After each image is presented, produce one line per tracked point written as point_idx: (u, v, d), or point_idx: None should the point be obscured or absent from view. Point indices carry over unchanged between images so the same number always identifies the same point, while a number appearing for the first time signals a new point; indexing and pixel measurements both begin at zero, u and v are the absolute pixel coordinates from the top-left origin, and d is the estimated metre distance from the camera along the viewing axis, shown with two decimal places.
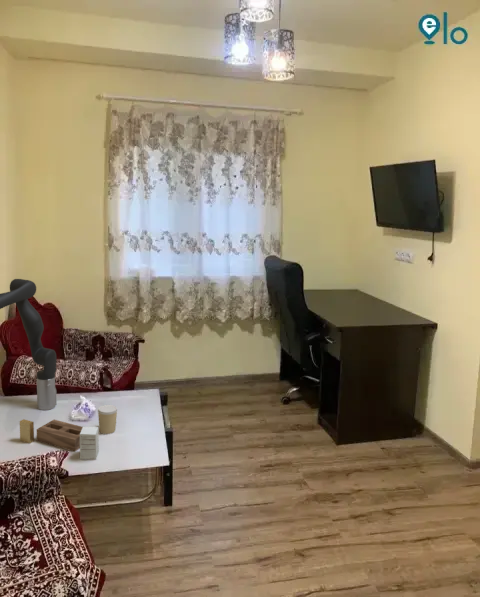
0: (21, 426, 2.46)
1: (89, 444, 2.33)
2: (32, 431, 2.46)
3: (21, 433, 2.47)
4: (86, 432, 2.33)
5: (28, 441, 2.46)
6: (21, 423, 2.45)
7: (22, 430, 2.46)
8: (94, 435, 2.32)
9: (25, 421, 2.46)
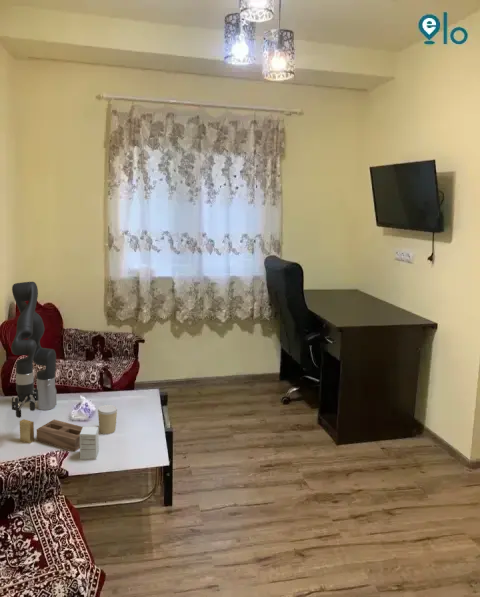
0: (21, 426, 2.46)
1: (89, 444, 2.33)
2: (32, 431, 2.46)
3: (21, 433, 2.47)
4: (86, 432, 2.33)
5: (28, 441, 2.46)
6: (21, 423, 2.45)
7: (22, 430, 2.46)
8: (94, 435, 2.32)
9: (25, 421, 2.46)
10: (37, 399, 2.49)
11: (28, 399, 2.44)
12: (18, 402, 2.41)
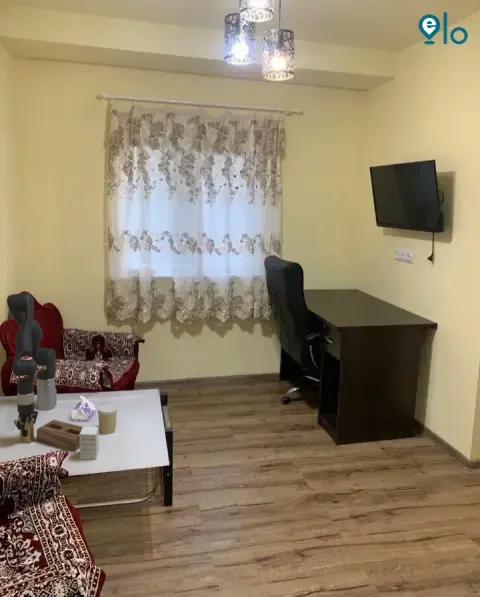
0: None
1: (89, 444, 2.33)
2: (32, 431, 2.46)
3: (21, 433, 2.46)
4: (86, 432, 2.33)
5: (28, 441, 2.46)
6: None
7: None
8: (94, 435, 2.32)
9: None
10: (34, 422, 2.49)
11: (28, 418, 2.45)
12: (21, 422, 2.44)
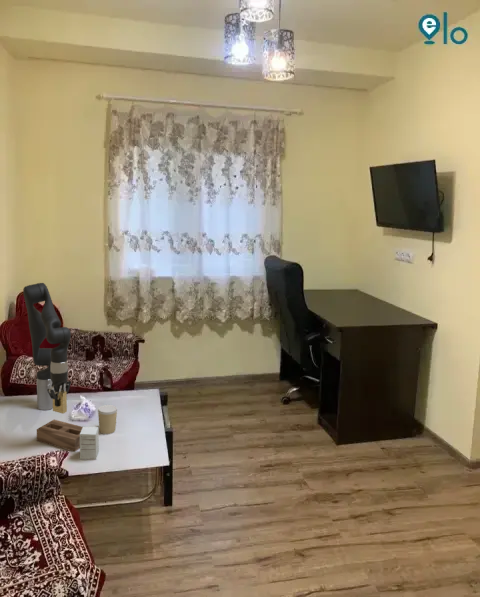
0: None
1: (89, 444, 2.33)
2: (65, 401, 2.42)
3: (54, 403, 2.43)
4: (86, 432, 2.33)
5: (61, 411, 2.42)
6: None
7: None
8: (94, 435, 2.32)
9: None
10: (67, 392, 2.45)
11: (61, 388, 2.41)
12: (55, 391, 2.41)
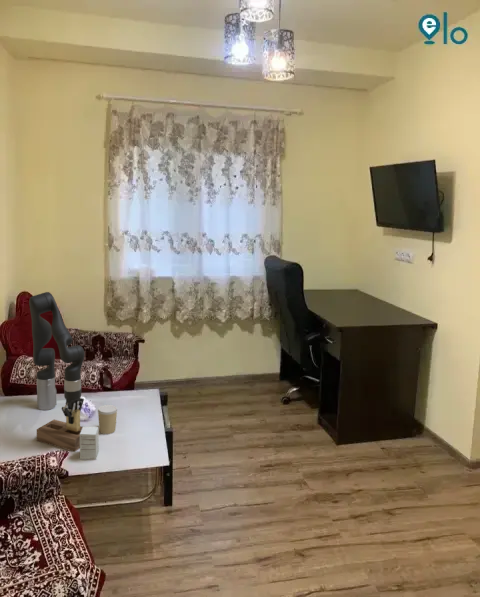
0: None
1: (89, 444, 2.33)
2: (78, 419, 2.45)
3: (67, 421, 2.45)
4: (86, 432, 2.33)
5: (74, 429, 2.45)
6: None
7: None
8: (94, 435, 2.32)
9: None
10: (80, 409, 2.48)
11: None
12: (68, 409, 2.43)
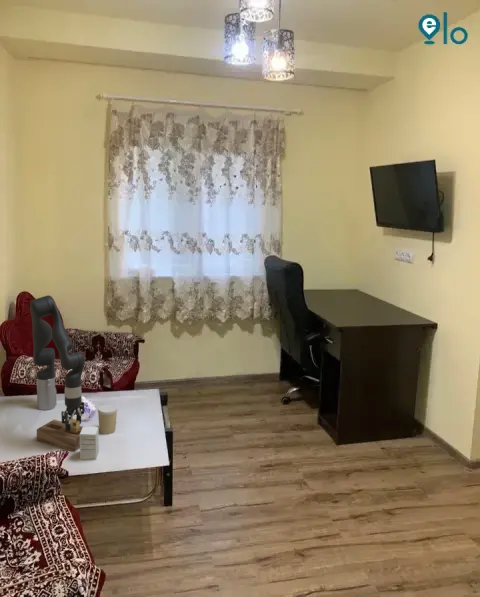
0: None
1: (89, 444, 2.33)
2: (78, 430, 2.46)
3: None
4: (86, 432, 2.33)
5: None
6: None
7: None
8: (94, 435, 2.32)
9: (71, 420, 2.46)
10: (83, 412, 2.50)
11: (76, 412, 2.45)
12: None
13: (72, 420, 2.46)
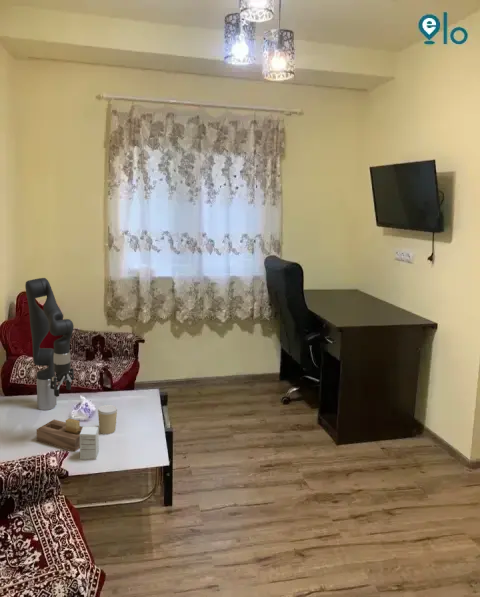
0: (67, 425, 2.46)
1: (89, 444, 2.33)
2: (78, 430, 2.46)
3: None
4: (86, 432, 2.33)
5: None
6: (67, 422, 2.46)
7: (68, 429, 2.46)
8: (94, 435, 2.32)
9: (71, 420, 2.46)
10: (73, 378, 2.52)
11: (65, 378, 2.47)
12: None
13: (72, 420, 2.46)
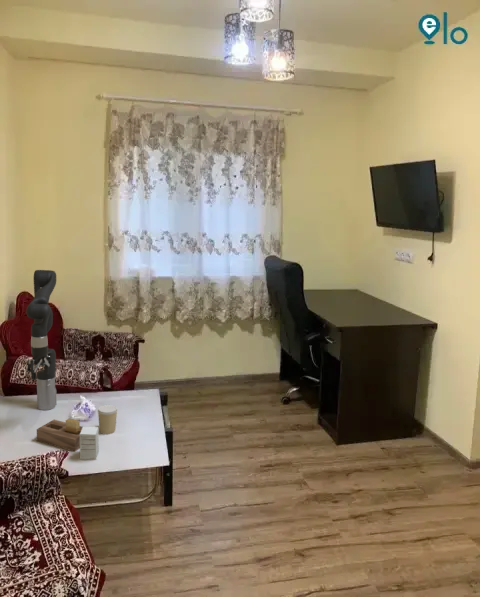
0: (67, 425, 2.46)
1: (89, 444, 2.33)
2: (78, 430, 2.46)
3: None
4: (86, 432, 2.33)
5: None
6: (67, 422, 2.46)
7: (68, 429, 2.46)
8: (94, 435, 2.32)
9: (71, 420, 2.46)
10: (51, 363, 2.58)
11: (42, 362, 2.52)
12: (33, 365, 2.50)
13: (72, 420, 2.46)
